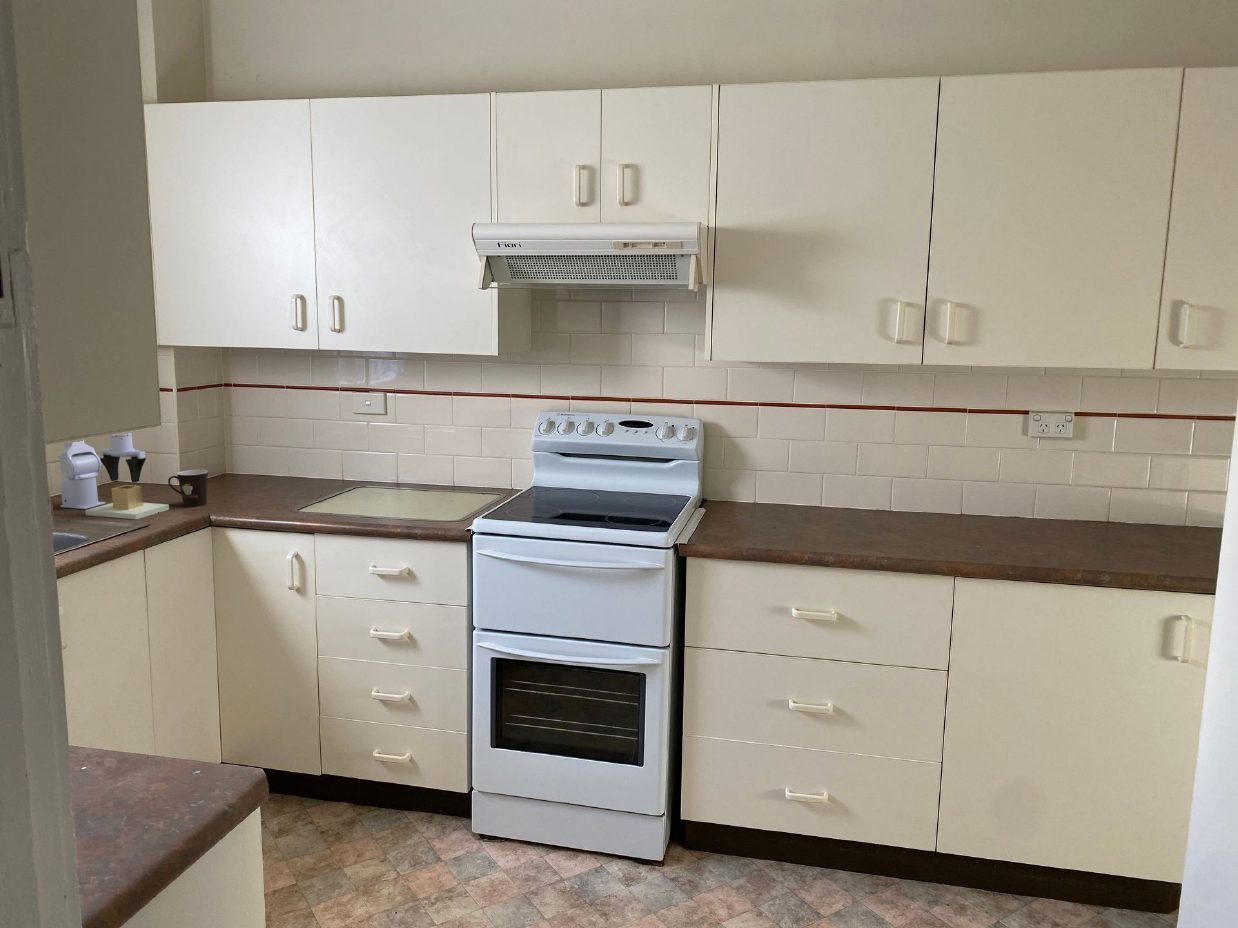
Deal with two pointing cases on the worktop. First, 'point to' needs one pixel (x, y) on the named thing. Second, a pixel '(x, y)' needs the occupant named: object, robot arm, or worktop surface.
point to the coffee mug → (192, 487)
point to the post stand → (127, 511)
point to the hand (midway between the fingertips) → (125, 481)
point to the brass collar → (127, 497)
